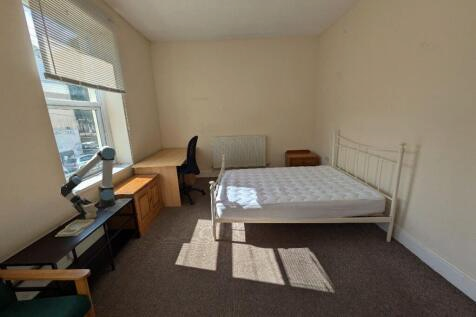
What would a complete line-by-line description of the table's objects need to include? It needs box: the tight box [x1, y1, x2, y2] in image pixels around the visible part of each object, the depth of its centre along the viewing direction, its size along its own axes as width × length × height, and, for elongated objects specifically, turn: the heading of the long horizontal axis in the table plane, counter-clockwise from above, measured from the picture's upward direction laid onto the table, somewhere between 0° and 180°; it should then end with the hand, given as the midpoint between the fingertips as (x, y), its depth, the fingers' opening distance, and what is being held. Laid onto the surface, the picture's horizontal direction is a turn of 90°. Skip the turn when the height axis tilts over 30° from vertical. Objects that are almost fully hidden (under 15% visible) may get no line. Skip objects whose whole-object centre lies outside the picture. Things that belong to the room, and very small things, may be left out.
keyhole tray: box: [54, 218, 96, 238], centre depth 169 cm, size 22×17×2 cm
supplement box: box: [82, 202, 98, 220], centre depth 187 cm, size 8×5×13 cm, turn 135°
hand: (93, 213), depth 187 cm, fingers open, 9 cm apart
